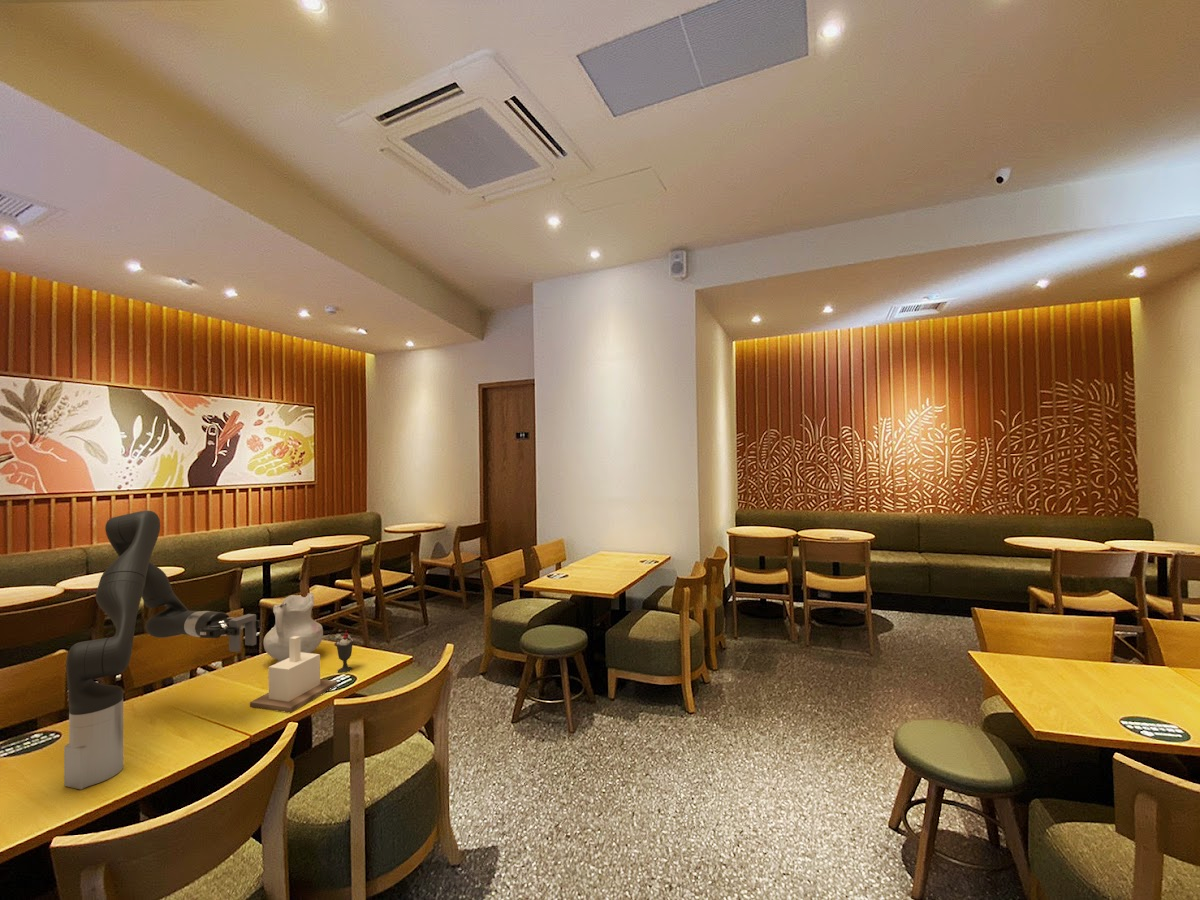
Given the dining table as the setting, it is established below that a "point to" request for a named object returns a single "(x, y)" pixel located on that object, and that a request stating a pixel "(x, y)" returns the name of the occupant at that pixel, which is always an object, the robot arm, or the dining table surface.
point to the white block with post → (294, 673)
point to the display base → (296, 702)
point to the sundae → (344, 650)
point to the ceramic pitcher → (293, 627)
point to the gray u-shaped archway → (249, 631)
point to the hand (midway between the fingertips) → (249, 627)
